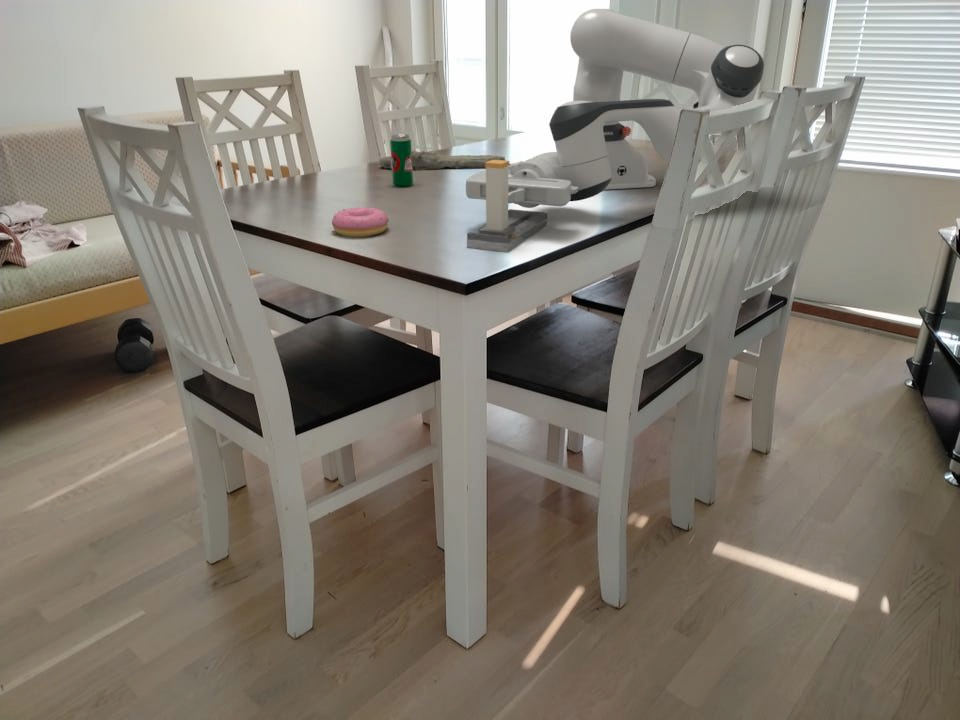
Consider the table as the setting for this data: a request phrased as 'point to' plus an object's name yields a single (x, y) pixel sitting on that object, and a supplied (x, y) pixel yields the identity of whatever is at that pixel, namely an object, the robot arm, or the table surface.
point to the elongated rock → (443, 161)
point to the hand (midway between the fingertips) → (502, 198)
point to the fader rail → (524, 228)
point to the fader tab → (497, 199)
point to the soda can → (401, 160)
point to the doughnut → (360, 222)
